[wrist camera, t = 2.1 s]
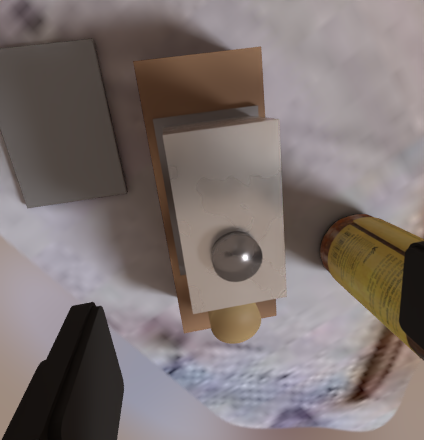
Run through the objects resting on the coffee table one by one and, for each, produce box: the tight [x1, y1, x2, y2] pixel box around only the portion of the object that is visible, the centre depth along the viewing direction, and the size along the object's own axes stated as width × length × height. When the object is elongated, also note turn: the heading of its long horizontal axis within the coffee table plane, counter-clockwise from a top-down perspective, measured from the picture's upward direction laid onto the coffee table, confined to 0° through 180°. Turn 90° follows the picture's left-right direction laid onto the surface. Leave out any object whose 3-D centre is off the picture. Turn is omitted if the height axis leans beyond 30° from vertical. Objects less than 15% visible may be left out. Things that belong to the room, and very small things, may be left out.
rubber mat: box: [0, 39, 127, 208], centre depth 21 cm, size 10×7×1 cm
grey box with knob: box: [163, 116, 287, 314], centre depth 17 cm, size 9×5×6 cm, turn 7°
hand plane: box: [133, 47, 276, 343], centre depth 21 cm, size 18×7×8 cm, turn 7°
